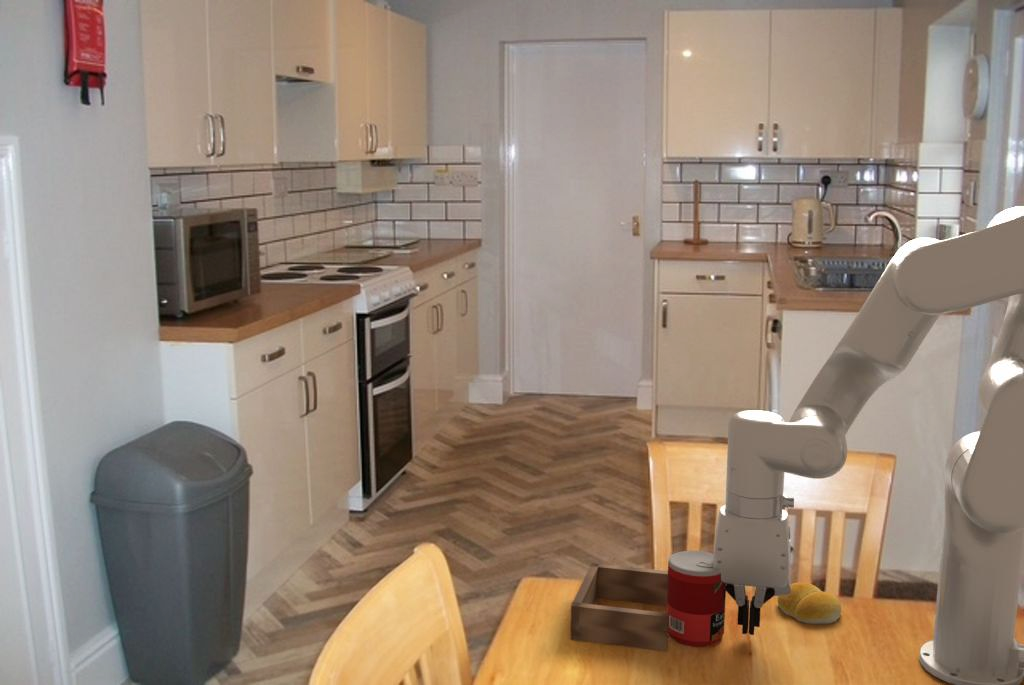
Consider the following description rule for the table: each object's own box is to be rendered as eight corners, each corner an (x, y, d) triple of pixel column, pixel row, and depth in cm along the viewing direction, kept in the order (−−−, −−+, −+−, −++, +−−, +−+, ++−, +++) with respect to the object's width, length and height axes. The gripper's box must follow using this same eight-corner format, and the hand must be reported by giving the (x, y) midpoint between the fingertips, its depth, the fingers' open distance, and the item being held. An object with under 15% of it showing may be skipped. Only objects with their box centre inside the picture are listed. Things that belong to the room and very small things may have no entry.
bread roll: (815, 632, 149) (817, 605, 148) (768, 608, 156) (769, 583, 156) (854, 617, 153) (856, 592, 153) (806, 595, 161) (807, 571, 160)
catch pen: (678, 603, 157) (679, 572, 156) (666, 651, 143) (667, 616, 142) (590, 594, 161) (591, 563, 160) (570, 639, 146) (571, 605, 145)
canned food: (723, 650, 143) (726, 574, 141) (663, 644, 145) (665, 568, 143) (725, 625, 150) (727, 552, 148) (668, 620, 152) (670, 547, 150)
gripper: (811, 498, 144) (804, 624, 147) (699, 489, 147) (695, 612, 151) (812, 517, 136) (805, 649, 140) (695, 507, 140) (691, 636, 144)
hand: (748, 629), depth 145 cm, fingers closed
